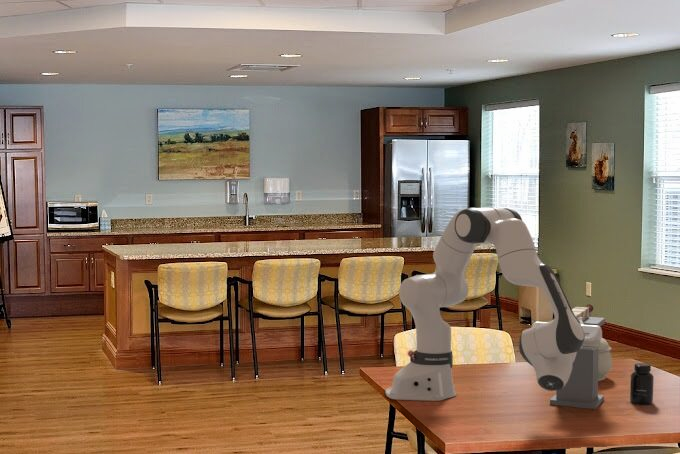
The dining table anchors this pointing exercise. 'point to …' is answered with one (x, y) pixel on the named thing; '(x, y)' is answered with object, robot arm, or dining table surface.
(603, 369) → the kettle
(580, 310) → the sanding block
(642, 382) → the supplement bottle
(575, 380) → the tool stand
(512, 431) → the dining table surface
